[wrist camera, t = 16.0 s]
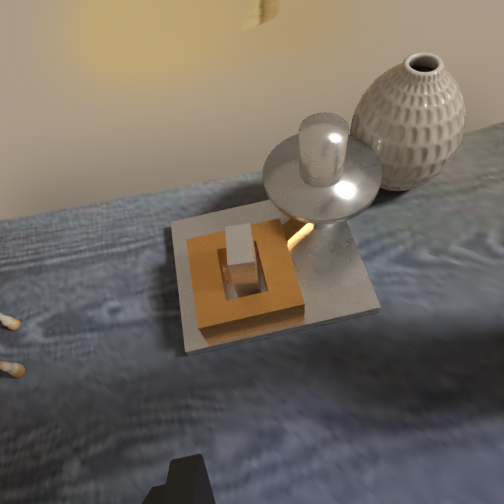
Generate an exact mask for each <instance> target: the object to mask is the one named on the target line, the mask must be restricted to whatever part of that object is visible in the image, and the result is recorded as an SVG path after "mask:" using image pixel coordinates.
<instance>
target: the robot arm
mask: <svg viewBox="0 0 504 504" xmlns="http://www.w3.org/2000/svg"><path fill="white" fill-rule="evenodd" d="M142 504H216V503H215V499H214V496H213V492H212V489H211V485H210V481H209V478H208V474H207V470H206V467H205V463H204V460H203V457H202V455H201V454H196V455H192V456H187V457H182V458H178V459H173V460H171V462H170V466H169V471H168V476H167V481H166V484H164V485H160V486H155V487H152V488H151V490H150V491H149V493H148V495H147V496H146V498H145V499H144V501H143V502H142Z"/></svg>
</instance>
